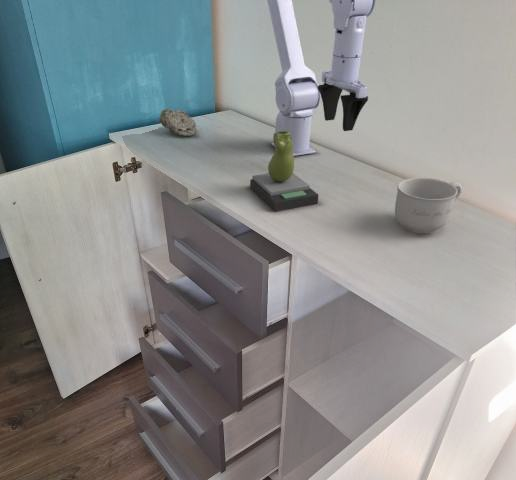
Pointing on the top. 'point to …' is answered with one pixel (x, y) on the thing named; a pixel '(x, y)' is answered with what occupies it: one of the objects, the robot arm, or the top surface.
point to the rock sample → (178, 122)
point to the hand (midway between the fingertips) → (338, 124)
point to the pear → (282, 157)
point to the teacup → (425, 203)
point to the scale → (283, 192)
